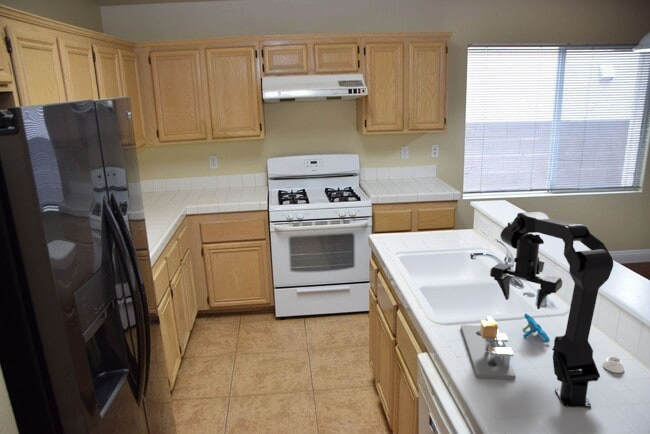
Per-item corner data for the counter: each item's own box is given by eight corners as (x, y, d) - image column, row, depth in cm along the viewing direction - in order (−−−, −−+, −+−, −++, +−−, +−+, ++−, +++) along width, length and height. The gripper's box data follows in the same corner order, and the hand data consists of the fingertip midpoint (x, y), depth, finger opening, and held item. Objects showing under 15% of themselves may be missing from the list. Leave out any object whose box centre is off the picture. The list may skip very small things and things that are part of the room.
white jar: (598, 364, 130) (612, 375, 125) (599, 355, 129) (613, 365, 124) (613, 362, 131) (628, 372, 126) (615, 353, 130) (629, 363, 125)
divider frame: (512, 367, 127) (513, 353, 126) (489, 366, 128) (490, 353, 127) (493, 327, 148) (494, 314, 147) (474, 326, 149) (474, 314, 148)
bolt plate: (515, 379, 124) (515, 375, 124) (477, 377, 126) (477, 373, 125) (492, 329, 149) (492, 325, 149) (460, 328, 150) (461, 324, 150)
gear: (554, 344, 137) (531, 319, 138) (538, 355, 139) (515, 331, 139) (546, 329, 148) (524, 306, 148) (531, 340, 149) (509, 318, 150)
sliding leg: (506, 353, 133) (508, 326, 130) (481, 352, 134) (483, 326, 131) (503, 347, 136) (506, 321, 133) (479, 347, 137) (481, 320, 134)
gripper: (571, 254, 131) (565, 303, 136) (507, 240, 144) (503, 286, 148) (557, 265, 124) (551, 317, 128) (491, 250, 136) (487, 298, 141)
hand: (522, 304), depth 136 cm, fingers open, 9 cm apart
